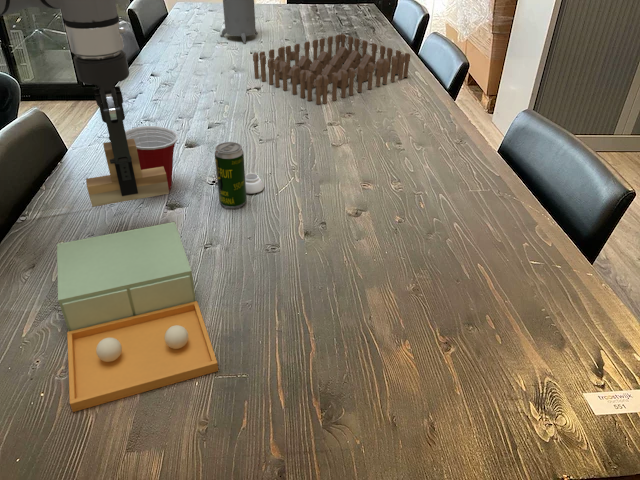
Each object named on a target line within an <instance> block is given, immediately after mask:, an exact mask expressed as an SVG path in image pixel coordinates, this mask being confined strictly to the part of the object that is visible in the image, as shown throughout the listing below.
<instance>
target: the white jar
mask: <svg viewBox="0 0 640 480" xmlns="http://www.w3.org/2000/svg"><path fill="white" fill-rule="evenodd" d="M245 182H246V194H256V193H257V194H258V193H260V192H261V191H263V190H264V188H265V184H264V182H263V181H262V179H261V178H260V176H259V175H258V173H255V172H248V173H245Z"/></svg>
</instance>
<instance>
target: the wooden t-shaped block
mask: <svg viewBox="0 0 640 480" xmlns="http://www.w3.org/2000/svg"><path fill="white" fill-rule="evenodd" d="M127 143H128V148H129V153H130V156H131V158H132V160H131V161H132V166H133V170H134V175H135V180H136V185H137V190H138V194H133V195H127V196H122V194H121V190H120V185H119V181H118V177H117V172H116V168H115V163H114V164H111V163H110V159H113V158H114V155H113V150H112V146H111V141H107V142H103V143H102V145H103V150H104V154H105V158H106V163H107V167H108V172H109V174H107V175H101V176H95V177H89V178H86V179H85V183H86V188H87V193H88V195H89V200H90V204H91V207H92V208H95V207H101V206H107V205H111V204H112V205H113V204H119V203H123V202H129V201H134V200H140V199H146V198H152V197H158V196H163V195H168V194H170V190H169V188H168V182H167V176H166V172H165V169H164V167H157V168H150V169H144V170H141V168H140V163H139V158H138V153H137V148H136V144H135V140H134V139H127Z"/></svg>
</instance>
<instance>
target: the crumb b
mask: <svg viewBox="0 0 640 480" xmlns="http://www.w3.org/2000/svg"><path fill="white" fill-rule="evenodd" d="M188 337H189V336H188V332H187V330H186V329H185V328H184V327H182V326H179V325H175V326H172V327H170V328H169V329H168V330H167V331H166V333H165V342H166V344H167V345H168V346H169V347H170V348H173V349H179V348H182V347H183V346H185V344H186V343H187V341H188Z"/></svg>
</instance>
